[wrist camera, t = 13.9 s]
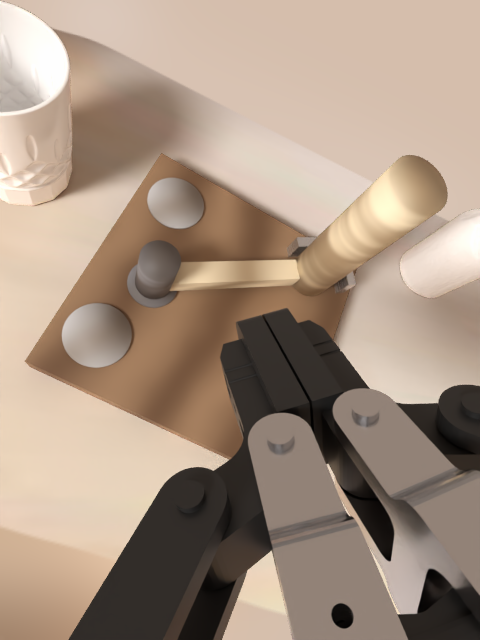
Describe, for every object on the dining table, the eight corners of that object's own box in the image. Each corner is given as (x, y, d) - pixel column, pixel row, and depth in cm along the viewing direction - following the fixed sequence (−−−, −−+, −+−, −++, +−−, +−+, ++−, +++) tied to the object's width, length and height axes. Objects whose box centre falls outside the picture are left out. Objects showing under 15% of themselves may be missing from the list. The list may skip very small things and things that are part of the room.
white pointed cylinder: (515, 234, 28) (503, 166, 30) (400, 293, 39) (396, 240, 41) (579, 250, 30) (564, 184, 31) (451, 302, 41) (445, 252, 42)
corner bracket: (296, 295, 33) (307, 287, 31) (286, 248, 34) (296, 237, 32) (342, 292, 34) (356, 284, 33) (332, 247, 35) (344, 236, 34)
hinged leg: (137, 306, 28) (160, 207, 16) (132, 260, 29) (151, 133, 17) (331, 295, 33) (455, 214, 22) (322, 256, 34) (437, 157, 22)
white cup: (80, 131, 33) (71, 14, 24) (79, 217, 31) (68, 125, 22) (-32, 117, 31) (-89, -20, 22) (-41, 209, 29) (-108, 101, 20)
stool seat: (30, 366, 27) (24, 360, 25) (158, 168, 35) (161, 151, 33) (273, 480, 30) (285, 482, 28) (345, 275, 38) (358, 265, 35)
